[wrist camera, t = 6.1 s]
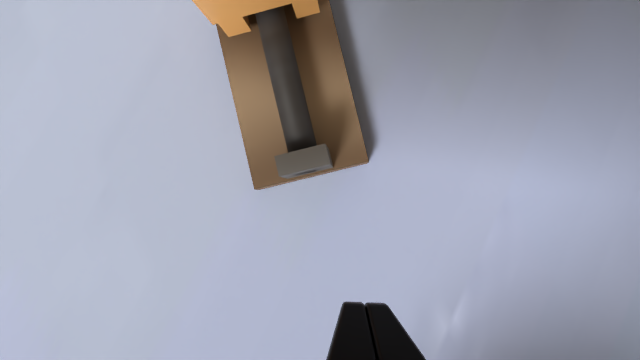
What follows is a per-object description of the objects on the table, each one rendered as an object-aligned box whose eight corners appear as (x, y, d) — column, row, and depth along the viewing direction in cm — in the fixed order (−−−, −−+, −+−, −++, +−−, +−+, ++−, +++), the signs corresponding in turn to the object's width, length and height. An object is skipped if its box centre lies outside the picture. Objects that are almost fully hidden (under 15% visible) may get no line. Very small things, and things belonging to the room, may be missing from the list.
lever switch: (368, 163, 20) (371, 153, 16) (259, 189, 21) (231, 187, 16) (305, -93, 21) (290, -173, 17) (200, -63, 21) (158, -133, 17)
